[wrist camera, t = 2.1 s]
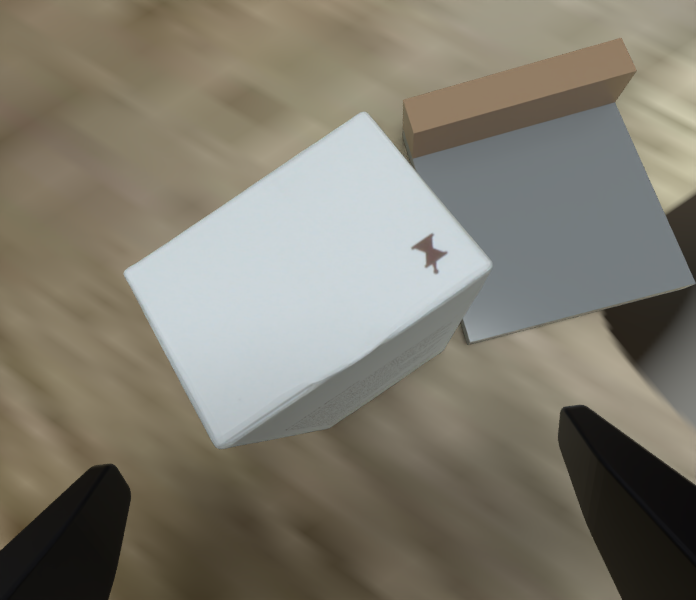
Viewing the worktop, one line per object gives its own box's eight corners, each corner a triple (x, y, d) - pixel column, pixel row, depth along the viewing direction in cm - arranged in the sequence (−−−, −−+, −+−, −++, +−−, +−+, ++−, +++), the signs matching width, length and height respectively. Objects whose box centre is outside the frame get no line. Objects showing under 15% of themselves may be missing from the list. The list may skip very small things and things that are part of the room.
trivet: (683, 288, 20) (729, 268, 17) (467, 345, 20) (478, 334, 17) (594, 83, 22) (621, 37, 19) (402, 137, 23) (403, 99, 20)
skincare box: (387, 269, 21) (372, 97, 10) (445, 350, 20) (508, 266, 9) (270, 348, 21) (110, 268, 9) (323, 433, 20) (218, 463, 8)
